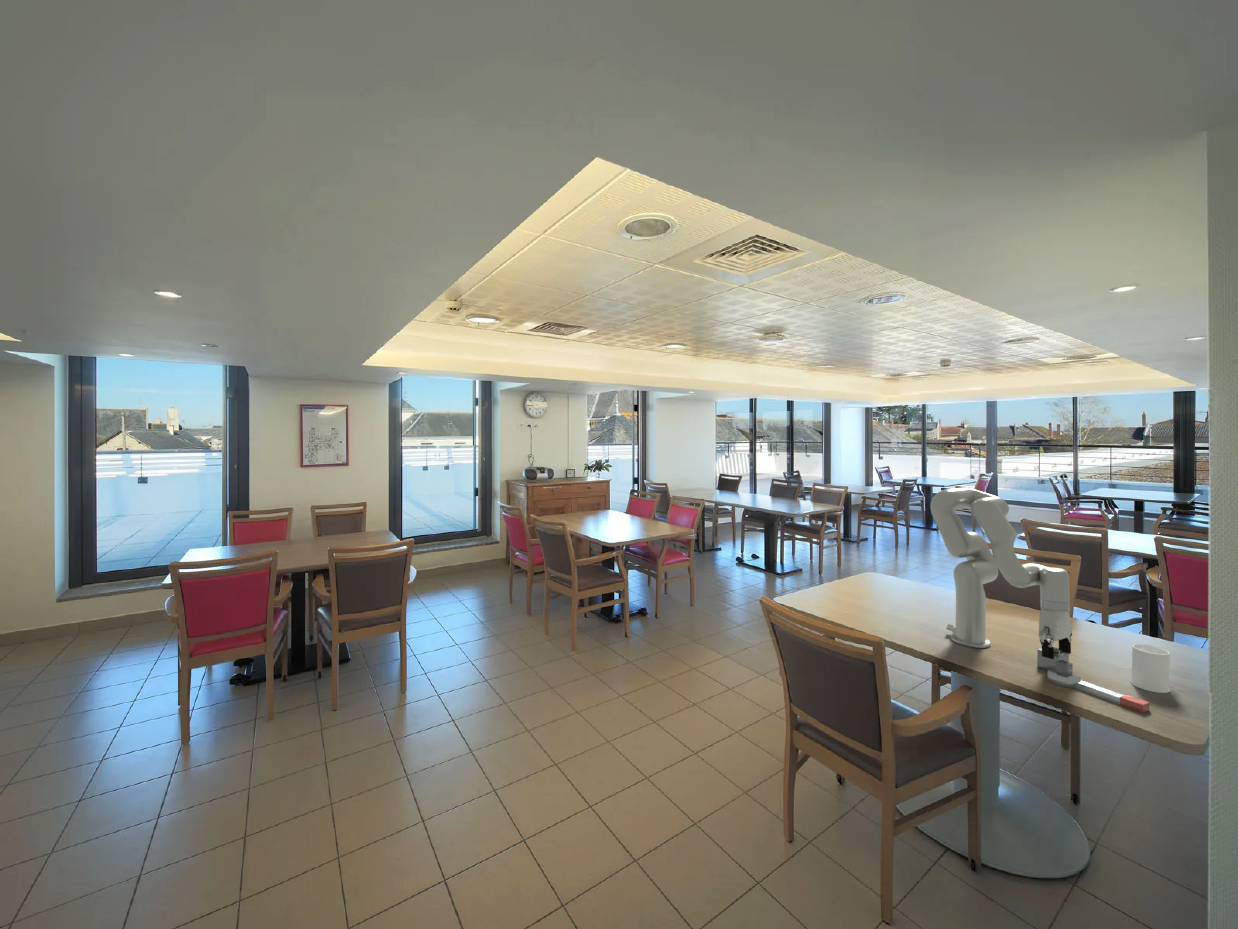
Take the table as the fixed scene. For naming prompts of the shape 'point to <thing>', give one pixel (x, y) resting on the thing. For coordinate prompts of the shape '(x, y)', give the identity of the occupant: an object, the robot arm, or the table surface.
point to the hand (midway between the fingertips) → (1056, 655)
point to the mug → (1150, 668)
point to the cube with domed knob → (1051, 663)
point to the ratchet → (1092, 687)
